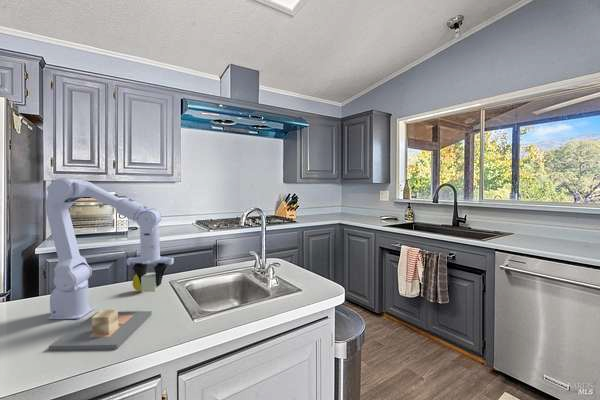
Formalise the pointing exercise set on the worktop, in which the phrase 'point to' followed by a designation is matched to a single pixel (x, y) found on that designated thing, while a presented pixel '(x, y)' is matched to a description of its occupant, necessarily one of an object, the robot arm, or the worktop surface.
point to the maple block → (105, 322)
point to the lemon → (136, 283)
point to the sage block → (149, 283)
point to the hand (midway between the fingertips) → (151, 285)
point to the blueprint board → (87, 341)
